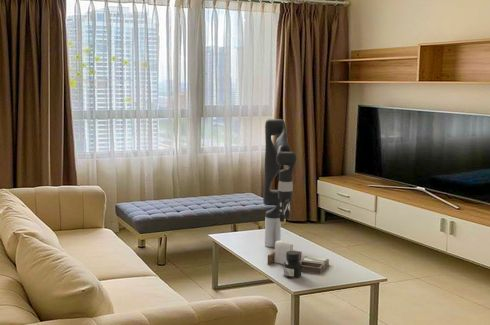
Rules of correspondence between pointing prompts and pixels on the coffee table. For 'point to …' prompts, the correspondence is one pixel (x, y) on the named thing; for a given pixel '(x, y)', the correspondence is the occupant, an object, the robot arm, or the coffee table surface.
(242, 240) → the coffee table surface
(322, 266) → the two-compartment wooden organizer
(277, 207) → the robot arm
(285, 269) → the ink bottle
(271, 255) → the wooden cubby shelf
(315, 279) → the coffee table surface
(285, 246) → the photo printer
